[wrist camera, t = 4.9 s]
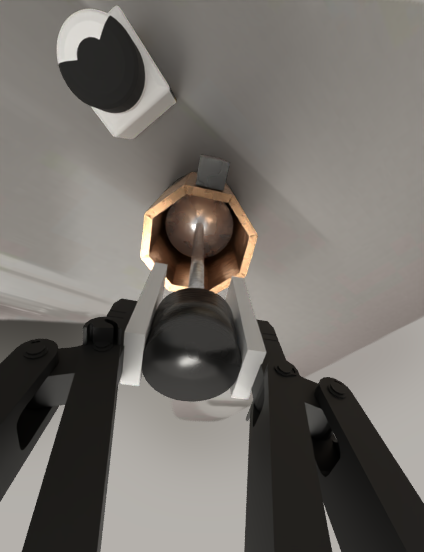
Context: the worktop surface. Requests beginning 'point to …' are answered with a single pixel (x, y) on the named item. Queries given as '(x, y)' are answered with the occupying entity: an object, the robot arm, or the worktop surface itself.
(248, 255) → the press carafe
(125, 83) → the medicine bottle
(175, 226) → the plunger
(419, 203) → the worktop surface
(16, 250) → the worktop surface
